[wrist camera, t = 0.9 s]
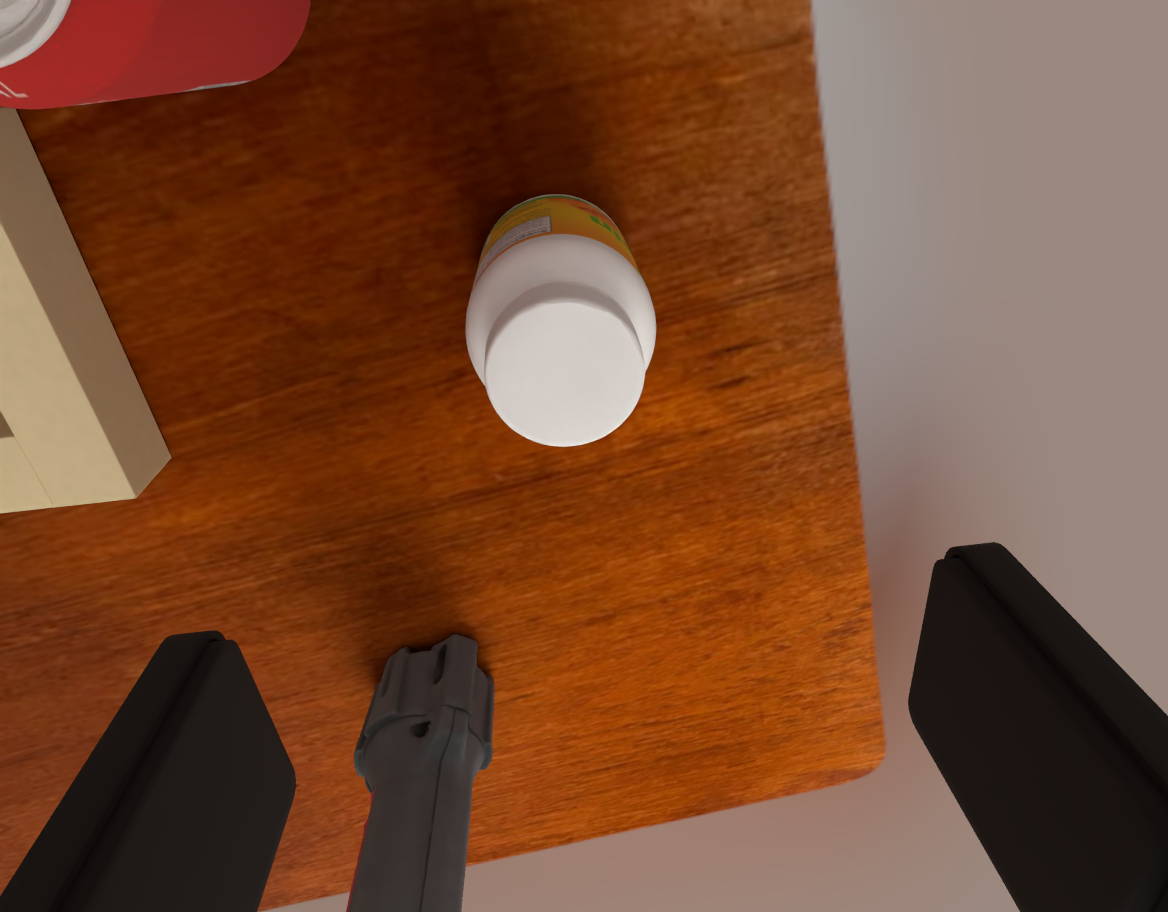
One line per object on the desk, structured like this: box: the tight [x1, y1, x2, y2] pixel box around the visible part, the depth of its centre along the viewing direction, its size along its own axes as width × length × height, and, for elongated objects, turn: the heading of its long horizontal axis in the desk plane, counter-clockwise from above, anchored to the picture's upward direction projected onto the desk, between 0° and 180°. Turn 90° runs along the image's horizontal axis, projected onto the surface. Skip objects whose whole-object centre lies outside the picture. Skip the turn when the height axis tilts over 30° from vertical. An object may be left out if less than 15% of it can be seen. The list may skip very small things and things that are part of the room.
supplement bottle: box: [466, 194, 656, 447], centre depth 22 cm, size 5×5×10 cm
